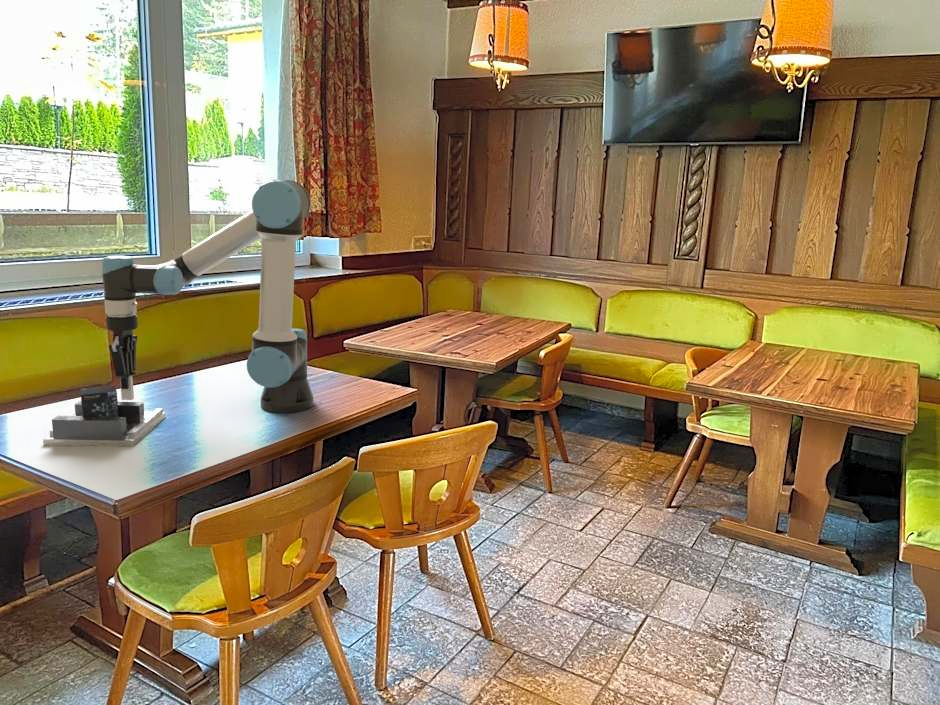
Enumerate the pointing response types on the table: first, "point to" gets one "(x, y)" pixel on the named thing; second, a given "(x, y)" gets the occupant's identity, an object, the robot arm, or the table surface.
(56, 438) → the beige square tray
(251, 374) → the robot arm
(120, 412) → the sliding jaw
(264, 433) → the table surface
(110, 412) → the box
